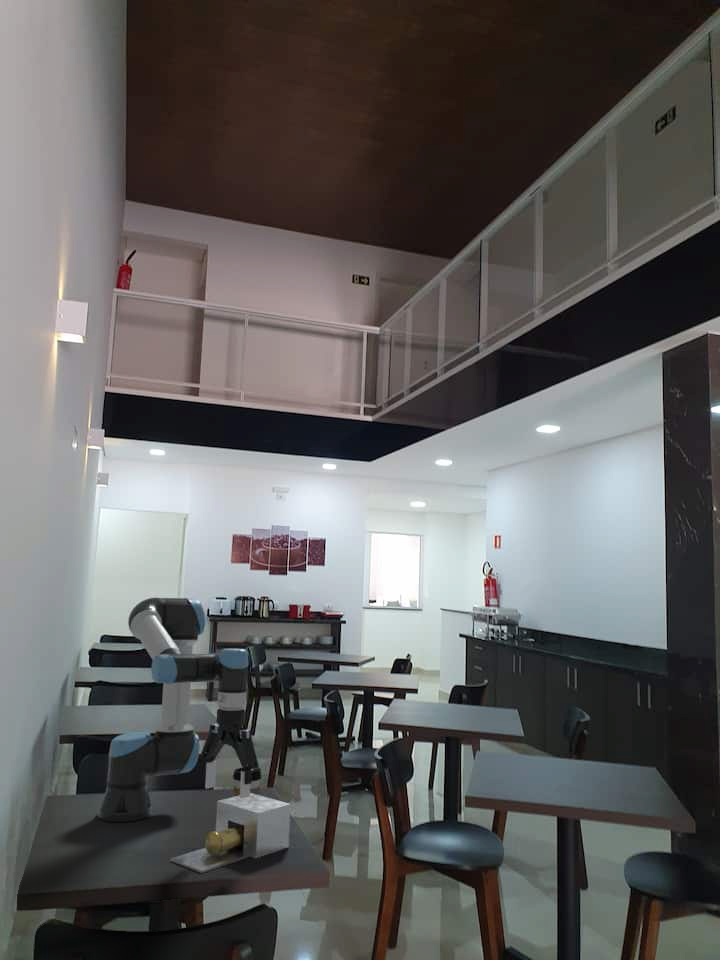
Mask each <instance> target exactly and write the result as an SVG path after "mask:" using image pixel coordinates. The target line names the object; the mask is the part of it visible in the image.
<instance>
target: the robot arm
mask: <svg viewBox="0 0 720 960" xmlns="http://www.w3.org/2000/svg"><path fill="white" fill-rule="evenodd" d="M127 622H128V623H127V624H128V629H129V631H130V633H131V634H132V635H133V637H134V638H135V639H138V640H140V642H141V644H142V645H143V647H144V648H145V650H146V652H147V653H148V655H149V656H150V658H151V660H152V663H151V670H150V671H151V675H152V676H151V678H152V680H153V682H155V683H157V684H163V685H162V703H161V704H162V705H161V718H160V719H161V720H160V721H161V722H160V724H159V725H158V726H157V728H155V734H154V736H152V735H151V733H150V732H149V731H145V730H142V731H130V732H126V733H123V734H120V735H117V736H116V737H114V738H113V739H112V740H111V742H110V747H109V751H108V766H107V767H108V768H107V769H108V770H107V779H106V780H107V781H106V790H105V793H104V795H103V797H102V800H101V803H100V806H99V808H98V815H97V816H98V818H99V819H100V820H102V821H106V822H110V823H111V822H112V823H128V822H136V821H139V820H144V819H147V818H148V817H150V816H151V814H152V803H151V799H150V795H149V789H148V778H149V777H157V776H165V775H181V774H183V773H189V772H191V771H192V770H193V769H194V767H195V766H196V765H197V762H198V760H199V757H200V759H203V760H204V762H205V768H204V770H205V771H204V772H205V773H204V774H205V783H204V784H205V785H204V787H205V789H210V788H215V787H216V774H217V772H216V771H217V759H216V758H217V756H218V755H219V753H220V751H221V750H222V749H223V747H224V746H225V745H227V746H229V747H231V748H232V749H233V750H234V752H235V753H236V755H237V757H238V760H239V762H240V765H241V768H243V770H242V771H241V782H240V798H245V797H249V796H250V784H251V782H252V771H253V769H257V768H260V767H259V761H258V759H257V754H256V751H255V745H254V744H253V743H254V742H253V739H252V730H251V729H243V726H244V723H246V710H247V709H246V708H245V707H246V706H247V685H248V671H249V670H248V667H249V653H248V651H247V650H246V649H245V648H231V647H230V648H222V649H221V651H220V652H210V653H193V648H194V647H193V646H194V645H195V644H196V643H197V642H198V641H199V636H201V635H202V634H203V633H204V631H205V627H206V614H205V611H204V607H203V604H202V603H201V601H199V600H198V599H194V598H187V597H184V598H183V597H181V598H179V597H175V598H174V597H150V598H147V599H144V600H142V601H140V602H139V603H137V604H136V605H135V606H134V607H133V608H132V610H131V612H130V613H129V615H128V621H127ZM211 682H212V683H214V682H217V683H218V687H217V688H218V690H217V703H216V704H217V707H218V708H217V710H216V720H215V722H216V723H212V724H210V725H209V730H208V731H209V732H208V735H207V737H206V739H205V742H204V745H203V747H202V750H201V752H200V746H201V745H200V737H199V735H198V734H197V733H195V732H194V727H193V726H192V724H190V706H191V691H192V690H191V688H192V687H191V686H192V683H211ZM199 754H200V755H199Z"/></svg>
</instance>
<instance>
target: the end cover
mask: <svg viewBox="0 0 720 960" xmlns="http://www.w3.org/2000/svg"><path fill="white" fill-rule="evenodd" d="M244 827H245V826H244V825H240V826H236V827H233V828H229V829H226V830H223V831H219V832H216V830H214V831H210V832H208V833H207V835H206V837H205V843H204V845H205V848H206V849H207V851H208V853H209V854H210V855H211V856H216V855H218V854H219V853H220V852H222V851H226V850H229V849H232V848H235V847H238V846H241V845H244Z"/></svg>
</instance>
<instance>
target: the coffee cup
mask: <svg viewBox="0 0 720 960" xmlns="http://www.w3.org/2000/svg"><path fill="white" fill-rule="evenodd" d="M242 770H243V767H237V768H235V769H234V771H233V774H232V779H233V781H234V782H233V783H234V785H233V797H235V796H239V795H240V782H241V771H242ZM261 771H262V770H261V768H260V767H258V768H257V769H253V771H252V782H251V784H250V793H253V794H256V795H260V794H259V793H260V780H261V779H262V773H261Z"/></svg>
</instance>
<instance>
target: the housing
mask: <svg viewBox="0 0 720 960" xmlns="http://www.w3.org/2000/svg"><path fill="white" fill-rule="evenodd" d="M290 822H291V803H288V802H284V801H281V800H277V799H274V798H271V797H267V796H263V795H261V794H258V795H256V794H253V793H250V796H249V797H245V798H240V795H239V796H235V797H234V796H232V797H228V798H224V799H220V800H217V802H216V820H215V832H219V831H223V830H226V829H229V828H233V827H236V826H240V825H244V826H245V827H244V845H241V846H238V847H235V848H232V849H229V850H226V851H222V852H220V853H219V854H218V855H216V856H211V855H210V854H209V853H208V851H207V849H206V847H203V848H200V849H197V850H194V851H191V852H187V853H184V854H181V855H177V856H174V857H170V862H172V863H174V864H177V865H180V866H182V867H184V868H187V869H190V870H192V871H194V872H197V873H199V874H204V873H207V872H210V871H213V870H216V869H217V868H222V867H224V866H227V865H231V864H233V863H235V862H238V861H241V860H245V859H248V858H254V859H258V857H259V858H262V857H264V855H265V856H267V854H268V855H270V853H271V854H274V853H276V852H279V851H282V850H284V849H287V848H290V825H291V824H290ZM261 856H262V857H261Z"/></svg>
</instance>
